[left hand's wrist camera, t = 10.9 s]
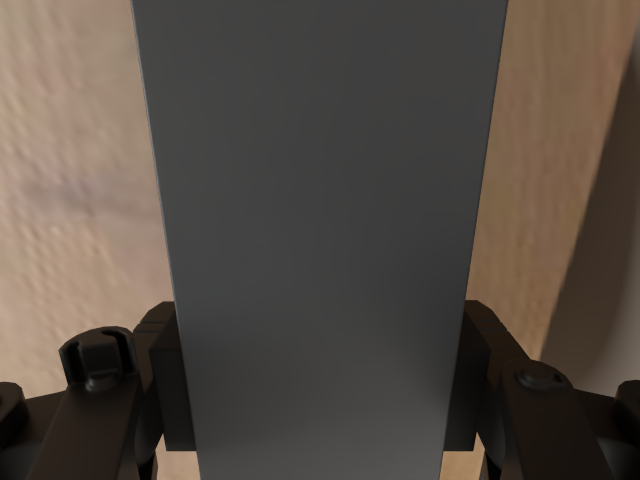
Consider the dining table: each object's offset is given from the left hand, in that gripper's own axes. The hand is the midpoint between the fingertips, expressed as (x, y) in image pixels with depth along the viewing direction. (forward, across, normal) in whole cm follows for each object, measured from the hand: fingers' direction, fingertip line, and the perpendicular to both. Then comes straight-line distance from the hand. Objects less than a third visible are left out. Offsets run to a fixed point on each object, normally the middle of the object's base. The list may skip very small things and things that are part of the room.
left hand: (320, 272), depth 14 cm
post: (+1, 0, -19) cm, 19 cm away
